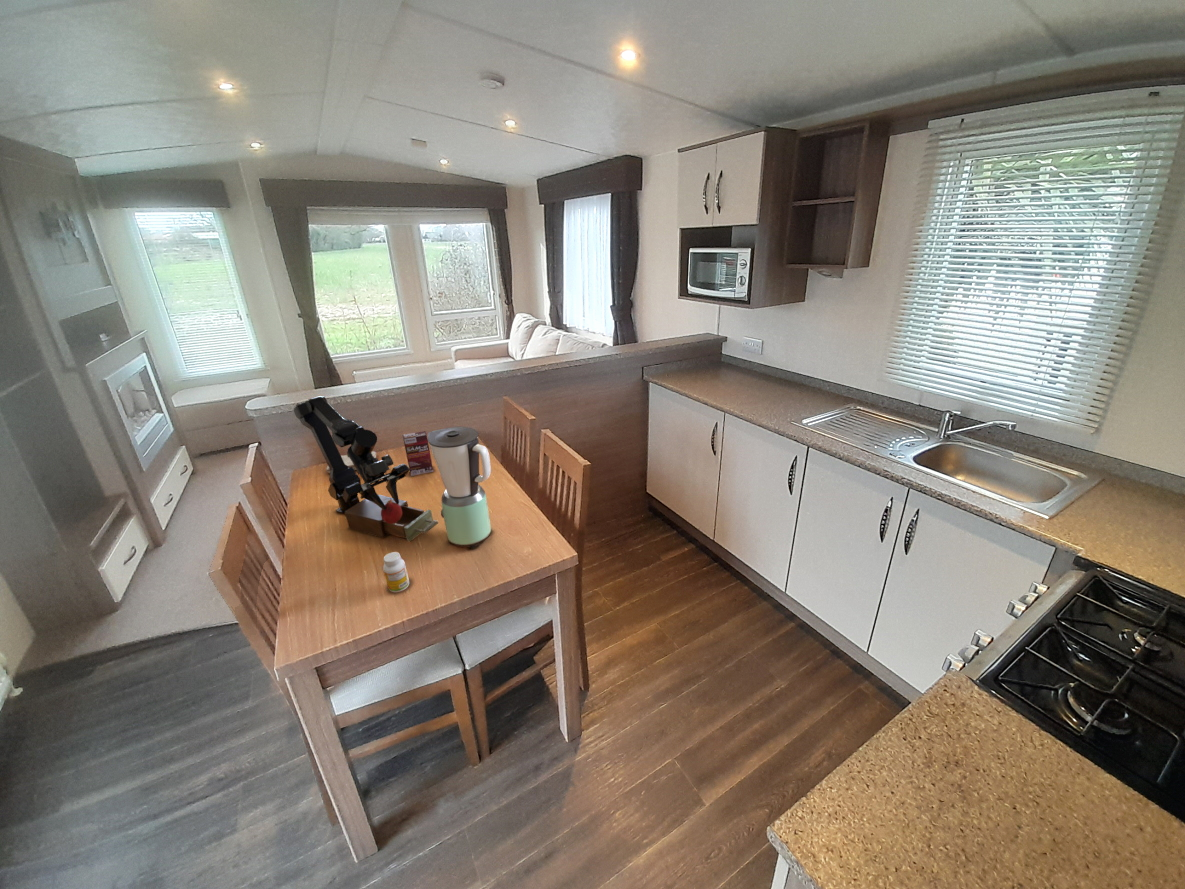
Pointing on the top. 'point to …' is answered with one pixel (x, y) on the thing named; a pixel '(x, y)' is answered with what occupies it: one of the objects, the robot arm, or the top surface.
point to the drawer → (411, 523)
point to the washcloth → (349, 461)
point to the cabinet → (369, 516)
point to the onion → (391, 512)
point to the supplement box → (418, 453)
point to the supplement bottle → (395, 572)
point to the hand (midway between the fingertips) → (391, 506)
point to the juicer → (462, 484)
